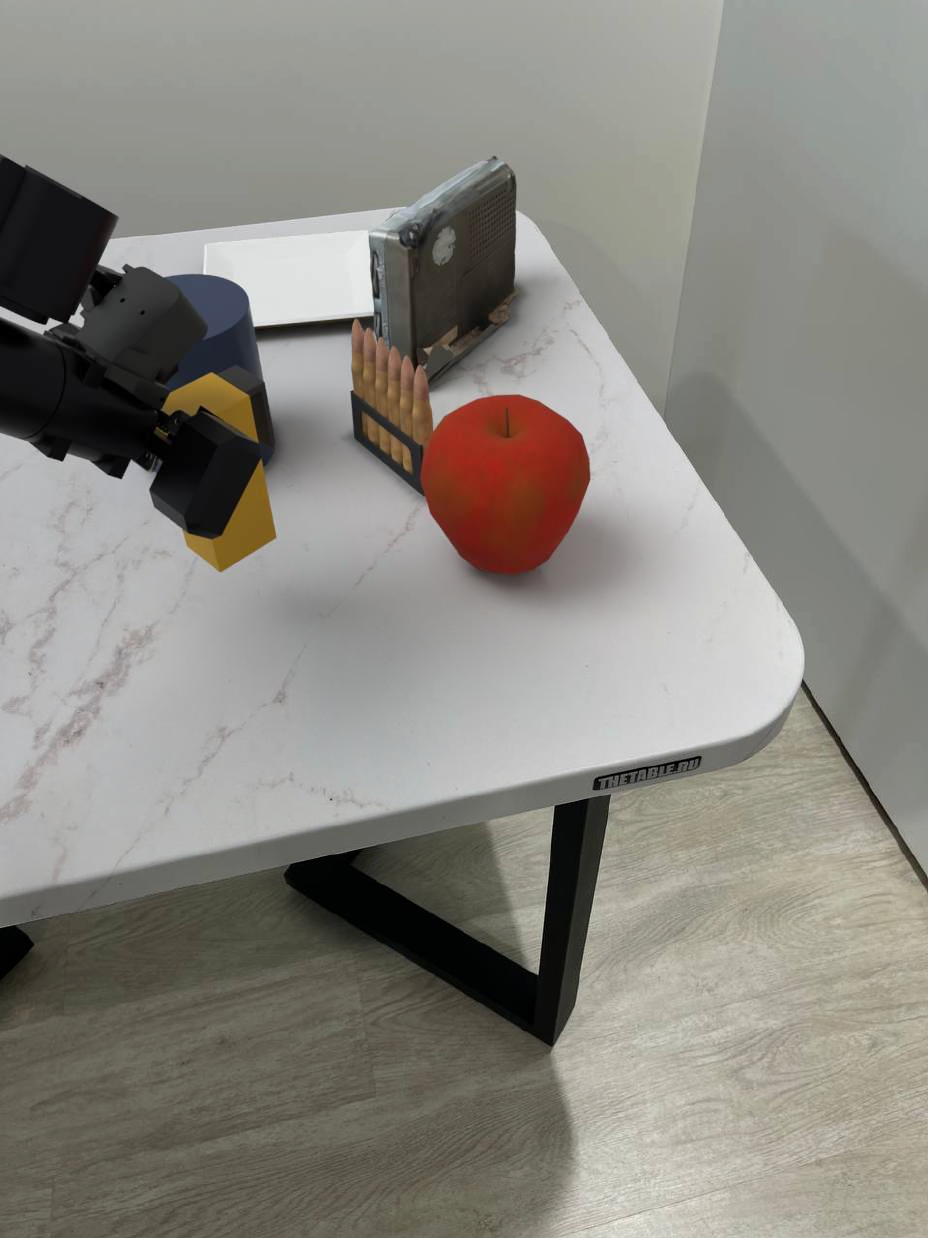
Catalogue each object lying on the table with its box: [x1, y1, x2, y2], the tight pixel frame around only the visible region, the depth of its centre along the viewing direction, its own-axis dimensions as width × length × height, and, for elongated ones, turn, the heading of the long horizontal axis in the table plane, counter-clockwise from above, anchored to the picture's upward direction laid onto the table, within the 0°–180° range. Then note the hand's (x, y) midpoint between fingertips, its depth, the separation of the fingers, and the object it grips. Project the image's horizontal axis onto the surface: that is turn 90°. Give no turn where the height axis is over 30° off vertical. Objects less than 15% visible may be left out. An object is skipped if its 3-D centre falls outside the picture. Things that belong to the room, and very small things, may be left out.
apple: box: [420, 394, 592, 575], centre depth 76 cm, size 12×12×14 cm
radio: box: [369, 155, 520, 386], centre depth 99 cm, size 23×9×15 cm, turn 144°
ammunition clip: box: [349, 319, 434, 496], centre depth 85 cm, size 11×2×12 cm, turn 38°
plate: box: [202, 229, 374, 330], centre depth 109 cm, size 19×19×2 cm
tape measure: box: [156, 365, 277, 573], centre depth 68 cm, size 7×4×12 cm, turn 136°
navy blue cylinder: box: [154, 273, 276, 474], centre depth 85 cm, size 14×11×14 cm
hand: (231, 459), depth 68 cm, fingers closed on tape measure, 4 cm apart
